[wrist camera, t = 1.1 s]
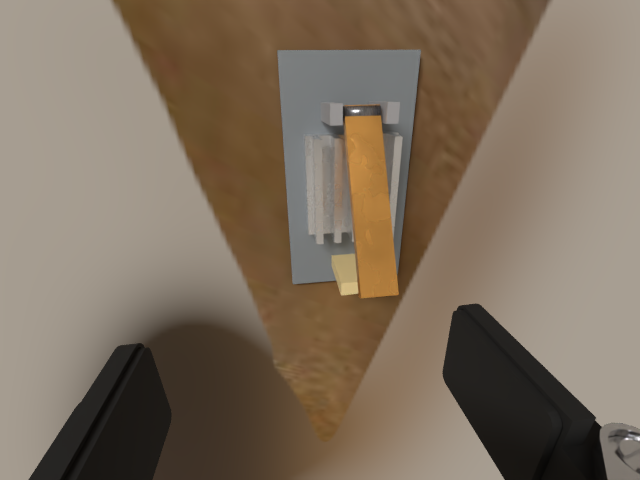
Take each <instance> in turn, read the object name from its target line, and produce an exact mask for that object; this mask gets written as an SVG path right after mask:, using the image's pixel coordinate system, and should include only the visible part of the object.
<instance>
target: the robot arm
mask: <svg viewBox="0 0 640 480" xmlns="http://www.w3.org/2000/svg"><path fill="white" fill-rule="evenodd" d="M443 378H444V381H445V383H446V385H447V386H448V388H449V390H450V391H451V393H452V395H453V396H454V398H455V399H456V401H457V402H458V404H459V406H460V408H461V409H462V411H463V412H464V414H465V416H466V417H467V419H468V421H469V422H470V424H471V425H472V427H473V429H474V430H475V432H476V434H477V435H478V437H479V439H480V440H481V442H482V443H483V445H484V447H485V448H486V450H487V451H488V453H489V455H490V456H491V458H492V460H493V461H494V463H495V464H496V466H497V468H498V469H499V471H500V473H501V474H502V476H503V477H504V479H505V480H640V429H638V428H636V427H633V426H629V425H626V424H623V423H610V424H606V425H604V426H603V427H601V426H600V425H599V424H598V423H597V422H596V421H595V419H596V417H595V416H594V415H593V414H592V413H591V412H590V411H589V410H588V409H587V408H586V407H585V406H584V405H583V404H582V403H581V402H580V401H579V400H577V398H575V397H574V396H573V395H572V394H571V393H570V392H569V391H568V390H567V389H566V388H565V387H564V386H563V385H562V384H561V383H560V382H559V381H558V380H557V379H556V378H555V377H554V376H553V375H552V374H551V373H550V372H548V370H547V369H546V368H545V367H544V366H543V365H541V363H539V362H538V361H537V360H536V359H535V358H534V357H533V356H532V355H531V354H530V353H529V352H528V351H527V350H526V349H525V348H524V347H523V346H522V345H521V344H520V343H519V342H518V341H517V340H516V339H515V338H514V337H513V336H511V334H510V333H508V331H507V330H506V329H504V328H503V327H502V326H501V325H500V324H499V323H498V322H497V321H496V320H495V319H494V318H493V317H492V316H491V315H490V314H489V313H488V312H487V311H486V310H485V309H484V308H483V307H482V306H481V305H479V304H469V305H462V306H459V307H458V308H457V311H454V312H453V315H452V321H451V327H450V332H449V338H448V344H447V350H446V356H445V361H444V367H443ZM170 423H171V409H170V406H169V403H168V400H167V397H166V394H165V391H164V388H163V385H162V382H161V379H160V376H159V373H158V371H157V367H156V365H155V361H154V358H153V356H152V353H151V350H150V349H149V348H145V347H144V345H143V344H141V343H138V344H129V345H121V346H118V347H117V348H116V349H115V350H114V352H113V353H112V355H111V357H110V358H109V360H108V361H107V363H106V364H105V366H104V368H103V369H102V370H101V372H100V374H99V375H98V377H97V378H96V380H95V381H94V383H93V384H92V386H91V388H90V389H89V391H88V392H87V394H86V395H85V397H84V398H83V400H82V402H80V403H79V404H78V406H77V407H76V408H75V409H74V411H73V412H72V414H71V415H70V417H69V419H68V420H67V422H66V423H65V425H64V426H63V428H62V429H61V431H60V432H59V434H58V435H57V437H56V439H55V440H54V442H53V443H52V445H51V446H50V448H49V449H48V451H47V452H46V454H45V455H44V457H43V458H42V460H41V462H40V463H39V465H38V466H37V468H36V469H35V471H34V472H33V474H32V475H31V477H30V478H29V480H152V479H153V476H154V473H155V470H156V467H157V464H158V460H159V457H160V454H161V451H162V448H163V445H164V442H165V439H166V436H167V433H168V429H169V426H170Z"/></svg>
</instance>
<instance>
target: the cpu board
mask: <svg viewBox="0 0 640 480" xmlns="http://www.w3.org/2000/svg"><path fill="white" fill-rule="evenodd" d="M277 53H278V68H279V83H280V99H281V114H282V129H283V144H284V159H285V174H286V189H287V204H288V220H289V235H290V250H291V265H292V280H293V284H301V283H313V282H325V281H337V284H338V287H339V290H340V293H341V295H349V294H358V283H357V272H356V260H355V249H354V242H352V241H351V239H350V237H349V235H348V233H347V232H342V233H341V243H334V241H333V238H332V236H331V233H327V234H323V242H324V244H316V241H315V237H314V234H313V235H309V234H308V230H307V206H306V180H305V154H304V134H333V133H344V125H343V106H344V105H376V104H380V106H381V121H382V131H383V132H392V131H393V132H397V133H399V135H400V136H403V139H402V150H401V161H400V172H399V183H398V194H397V205H396V216H395V227H394V238H393V242H394V252H395V262H396V272H397V275H398V266H399V257H400V247H401V237H402V228H403V218H404V208H405V198H406V189H407V179H408V169H409V160H410V150H411V140H412V131H413V121H414V111H415V102H416V92H417V82H418V73H419V63H420V53H421V50H277Z"/></svg>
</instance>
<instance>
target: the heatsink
mask: <svg viewBox="0 0 640 480" xmlns="http://www.w3.org/2000/svg"><path fill="white" fill-rule="evenodd" d="M402 139H403V136H400V135H399V133H397V132H393V131H392V132H383V141H384V151H385V162H386V172H387V182H388V192H389V202H390V212H391V222H392V232H393V238H394V227H395V216H396V205H397V194H398V183H399V172H400V161H401V150H402ZM304 154H305V180H306V206H307V230H308V234H309V235H313V234H314V237H315V241H316V244H324V242H323V234H327V233H331V236H332V238H333V241H334V243H341V233H342V232H347V233H348V235H349V237H350V239H351V241H352V242H354V238H353V227H352V215H351V204H350V193H349V182H348V170H347V159H346V148H345V137H344V133H333V134H304Z"/></svg>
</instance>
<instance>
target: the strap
mask: <svg viewBox="0 0 640 480" xmlns="http://www.w3.org/2000/svg"><path fill="white" fill-rule="evenodd" d="M343 125H344V137H345V148H346V159H347V170H348V182H349V193H350V204H351V215H352V227H353V238H354V249H355V260H356V272H357V283H358V294H359V298H370V297H381V296H392V295H399V292H398V282H397V272H396V262H395V252H394V242H393V232H392V222H391V212H390V202H389V192H388V182H387V172H386V162H385V151H384V141H383V131H382V121H381V106H380V104H376V105H344V106H343Z"/></svg>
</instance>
